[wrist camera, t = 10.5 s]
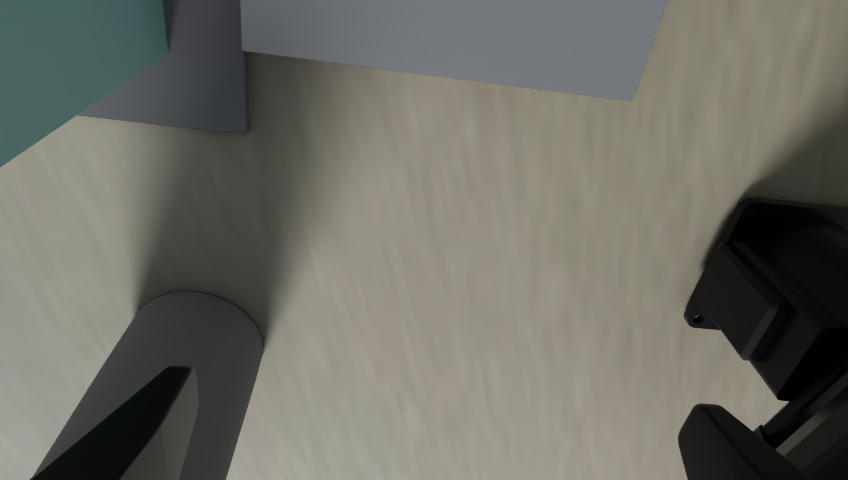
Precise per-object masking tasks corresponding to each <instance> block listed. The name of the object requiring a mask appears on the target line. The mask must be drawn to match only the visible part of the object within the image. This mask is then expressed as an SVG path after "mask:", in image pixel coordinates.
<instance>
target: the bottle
mask: <svg viewBox="0 0 848 480" xmlns="http://www.w3.org/2000/svg"><path fill="white" fill-rule="evenodd" d="M262 353H263V344H262V338H261V335H260V333H259V330H258V328H257V326H256V325H255V324H254V322H253V321H252V320H251V318H250V317H249V316H248V315H247V314H246V313H244V312H243V311H242V310H241V309H239V308H238V307H236V306H235V305H233V304H232V303H230V302H228V301H226V300H223V299H221V298H218V297H216V296H213V295H209V294H205V293H200V292H175V293H170V294H166V295H162V296H159V297H157V298H155V299H153V300H151V301H150V302H148V303H147V304H146V305H145V306H144V307H143V308H142V309H141V310H140V311H139V312H138V313H137V315H136V316H135V318H134V319H133V321H132V322H131V323H130V325H129V326H128V328H127V330H126V331H125V333H124V334H123V336H122V337H121V339H120V340H119V342H118V343H117V345H116V346H115V348H114V349H113V351H112V352H111V354H110V356H109V357H108V359H107V360H106V362H105V363H104V365H103V366H102V368H101V369H100V371H99V373H98V374H97V376H96V377H95V379H94V380H93V382H92V384H91V385H90V387H89V388H88V390H87V392H86V393H85V395H84V396H83V398H82V399H81V401H80V403H79V404H78V406H77V407H76V409H75V411H74V412H73V414H72V415H71V417H70V419H69V420H68V422H67V423H66V425H65V426H64V428H63V430H62V431H61V433H60V434H59V436H58V438H57V439H56V441H55V442H54V444H53V445H52V447H51V449H50V450H49V452H48V453H47V455H46V457H45V458H44V460H43V461H42V463H41V464H40V466H39V468H38V469H37V471H36V472H35V474H34V476H35V475H36V474H37V473H38V472H40V471H41V470H42V469H43V468H44V467H46V466H47V465H48V464H49V463H50V462H52V461H53V460H54V459H55V458H56V457H58V456H59V455H60V454H61V453H63V452H64V451H65V450H66V449H67V448H69V447H70V446H71V445H72V444H73V443H75V442H76V441H77V440H78V439H79V438H81V437H82V436H83V435H84V434H86V433H87V432H88V431H89V430H90V429H92V428H93V427H94V426H95V425H96V424H98V423H99V422H100V421H101V420H102V419H104V418H105V417H106V416H107V415H108V414H110V413H111V412H112V411H113V410H115V409H116V408H117V407H118V406H119V405H121V404H122V403H123V402H124V401H125V400H127V399H128V398H129V397H130V396H131V395H133V394H134V393H135V392H136V391H138V390H139V389H140V388H141V387H142V386H144V385H145V384H146V383H147V382H148V381H150V380H151V379H152V378H153V377H154V376H156V375H157V374H158V373H159V372H160V371H162V370H163V369H164V368H165V367H167V366H170V365H180V366H191V367H193V368H194V369H195V372H196V379H197V388H198V397H199V406H198V412H197V416H196V420H195V423H194V427H193V430H192V434H191V438H190V441H189V445H188V449H187V452H186V456H185V459H184V463H183V467H182V470H181V474H180V477H179V480H226V477H227V474H228V471H229V467H230V464H231V461H232V457H233V454H234V451H235V447H236V444H237V441H238V437H239V434H240V431H241V427H242V424H243V421H244V417H245V414H246V411H247V407H248V404H249V401H250V397H251V394H252V391H253V387H254V384H255V380H256V377H257V373H258V369H259V366H260V362H261V358H262ZM34 476H33V477H34Z"/></svg>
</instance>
